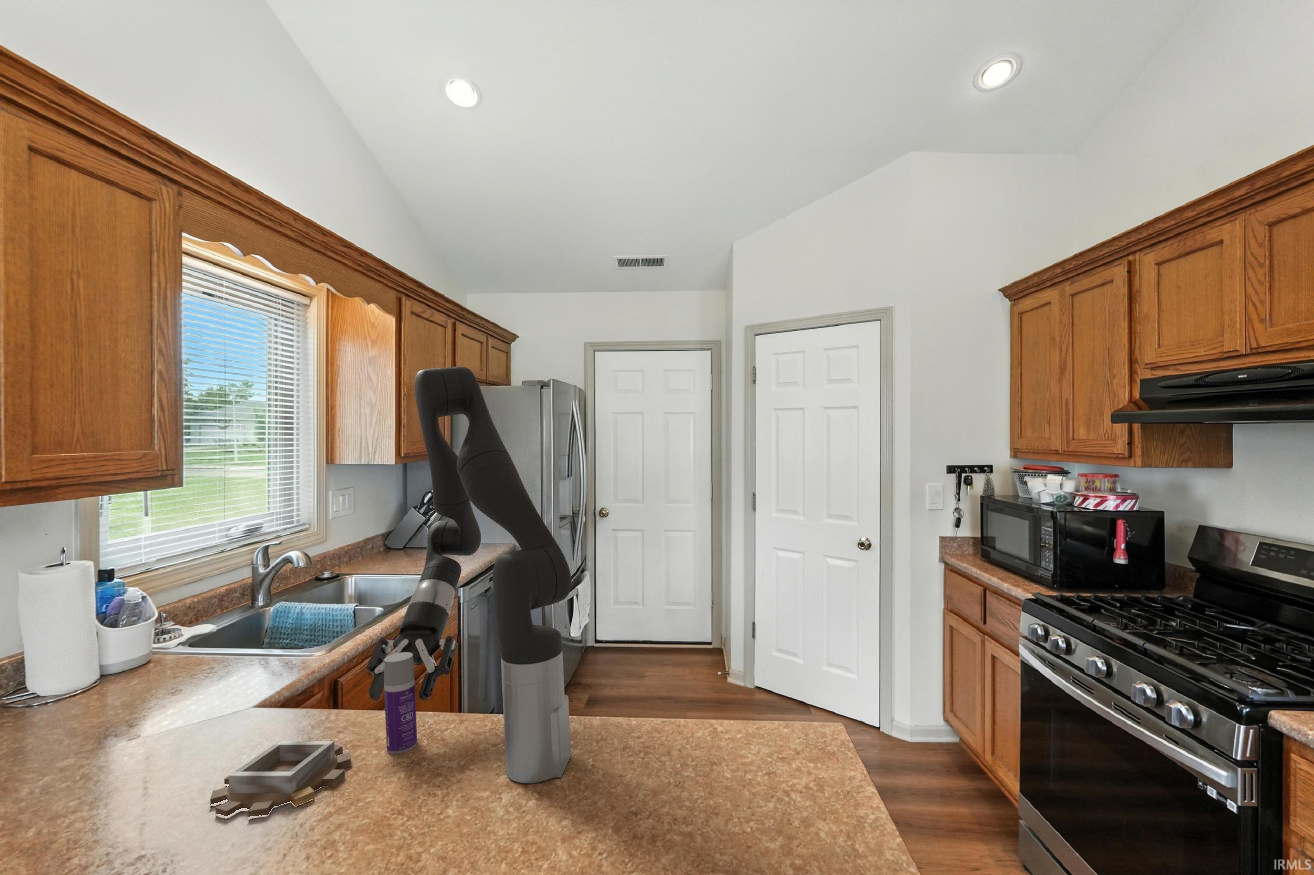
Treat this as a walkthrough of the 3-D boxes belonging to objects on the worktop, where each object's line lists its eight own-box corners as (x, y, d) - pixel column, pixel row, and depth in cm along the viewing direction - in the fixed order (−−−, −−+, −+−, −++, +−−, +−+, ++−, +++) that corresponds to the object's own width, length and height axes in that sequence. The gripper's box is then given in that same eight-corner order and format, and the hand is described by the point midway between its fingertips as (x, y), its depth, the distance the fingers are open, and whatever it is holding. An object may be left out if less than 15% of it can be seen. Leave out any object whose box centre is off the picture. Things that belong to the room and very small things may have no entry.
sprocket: (373, 751, 94) (373, 728, 94) (298, 820, 76) (297, 792, 76) (274, 751, 95) (273, 729, 95) (177, 819, 78) (177, 792, 78)
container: (405, 755, 92) (402, 662, 92) (380, 753, 93) (376, 661, 93) (423, 740, 96) (419, 652, 97) (398, 739, 97) (395, 651, 98)
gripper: (384, 600, 104) (347, 690, 92) (458, 598, 102) (430, 689, 91) (400, 620, 109) (367, 708, 97) (472, 619, 108) (447, 707, 96)
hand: (398, 699), depth 94 cm, fingers open, 8 cm apart
